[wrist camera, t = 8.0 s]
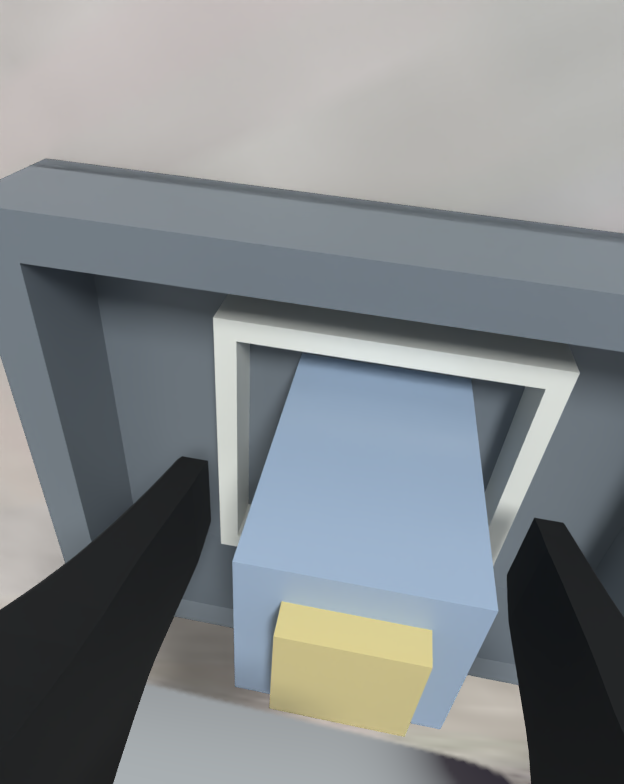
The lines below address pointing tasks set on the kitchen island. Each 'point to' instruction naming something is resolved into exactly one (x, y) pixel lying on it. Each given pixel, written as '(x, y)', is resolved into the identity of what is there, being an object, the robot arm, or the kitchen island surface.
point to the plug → (366, 549)
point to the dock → (302, 350)
